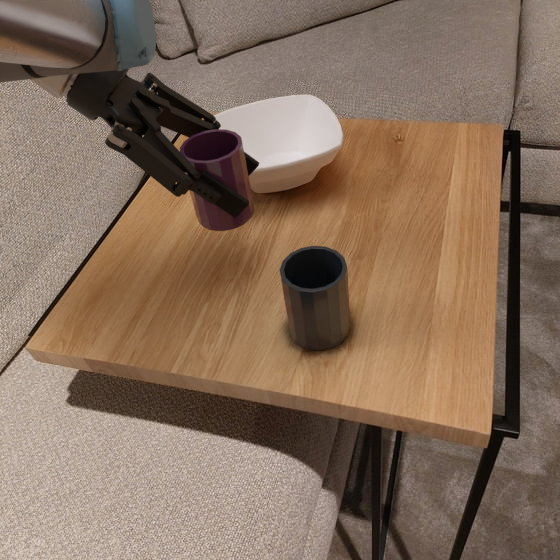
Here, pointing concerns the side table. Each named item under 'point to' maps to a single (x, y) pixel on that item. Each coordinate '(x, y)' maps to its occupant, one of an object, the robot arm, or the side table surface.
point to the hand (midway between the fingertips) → (247, 189)
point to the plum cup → (219, 175)
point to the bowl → (285, 139)
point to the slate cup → (316, 297)
